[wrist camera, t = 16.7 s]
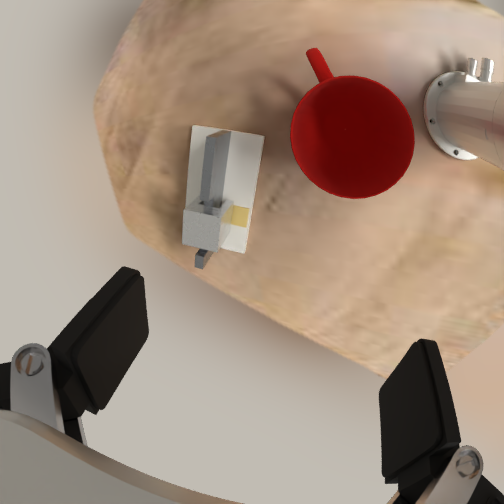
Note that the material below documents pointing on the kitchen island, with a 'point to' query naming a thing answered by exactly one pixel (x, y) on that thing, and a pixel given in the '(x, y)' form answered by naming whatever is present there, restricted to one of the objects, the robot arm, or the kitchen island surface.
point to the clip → (206, 225)
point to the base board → (230, 178)
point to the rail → (213, 179)
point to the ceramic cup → (351, 134)
